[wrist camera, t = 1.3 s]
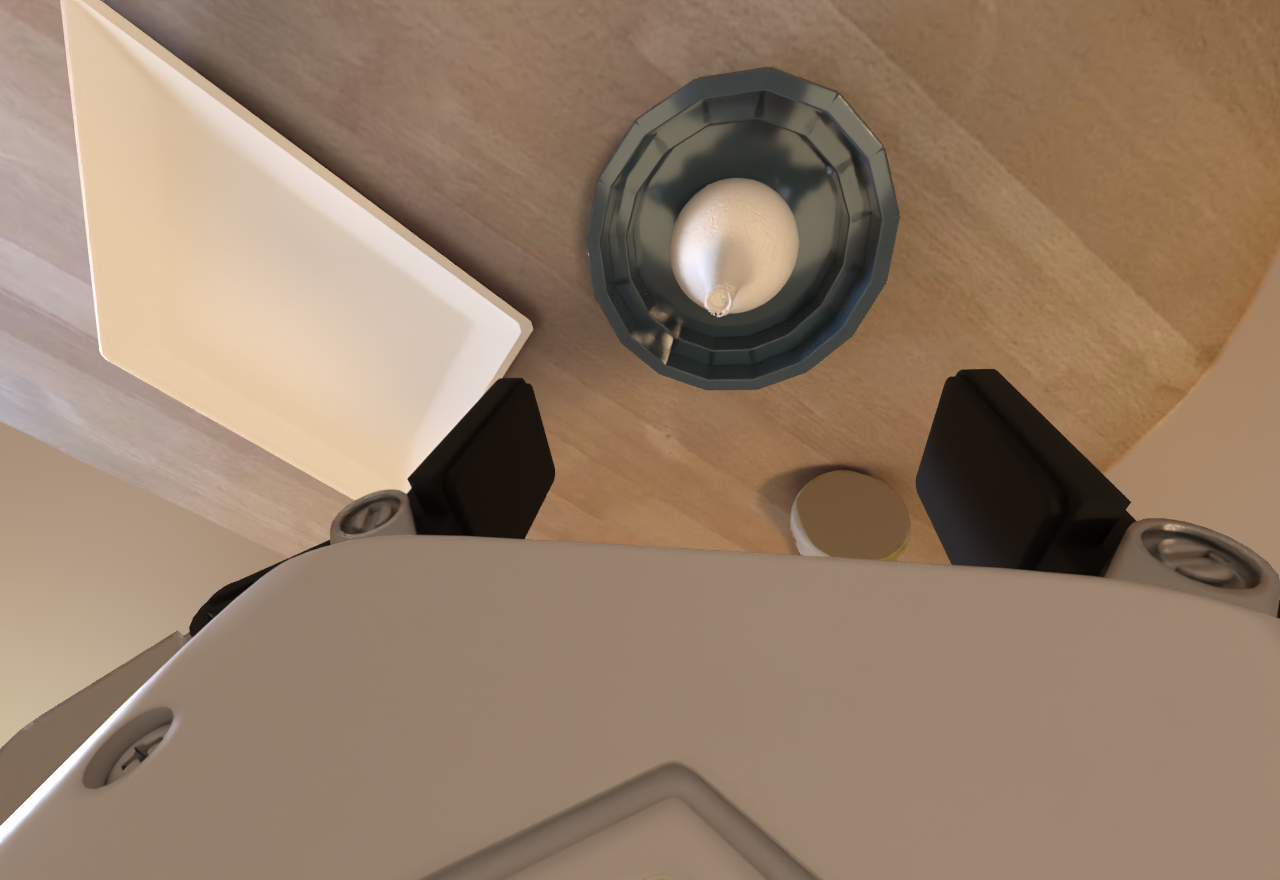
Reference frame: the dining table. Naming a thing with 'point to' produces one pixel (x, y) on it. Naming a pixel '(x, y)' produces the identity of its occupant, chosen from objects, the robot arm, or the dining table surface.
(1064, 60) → the dining table surface
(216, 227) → the plate
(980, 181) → the dining table surface
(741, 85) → the bowl
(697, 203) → the garlic bulb
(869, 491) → the mug
